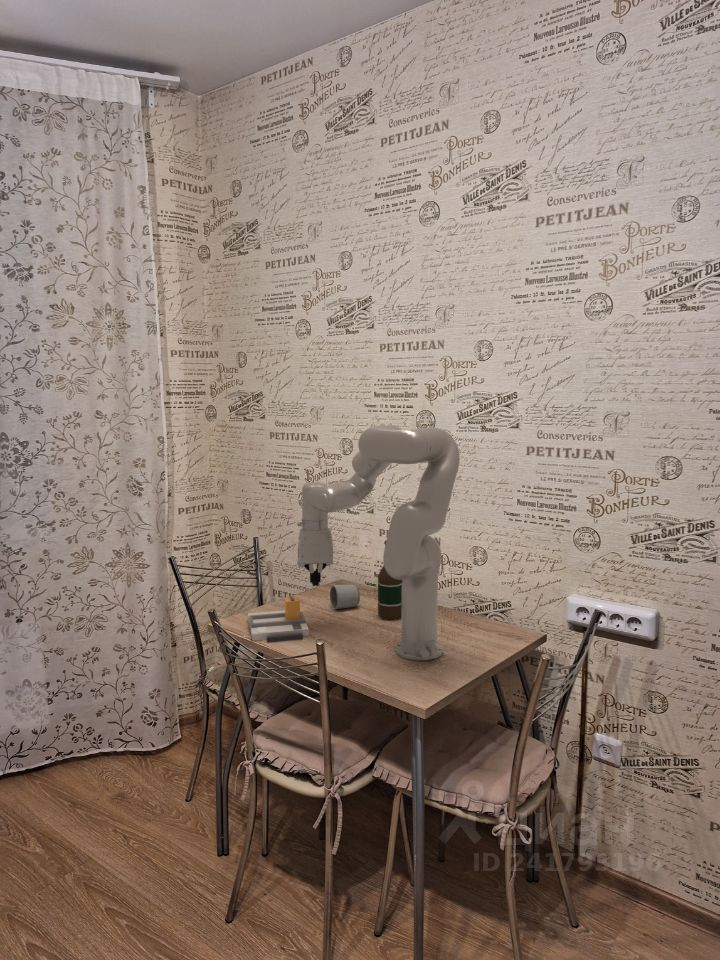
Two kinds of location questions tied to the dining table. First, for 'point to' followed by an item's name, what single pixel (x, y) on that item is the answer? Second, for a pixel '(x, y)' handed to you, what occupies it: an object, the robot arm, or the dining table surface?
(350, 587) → the ceramic mug
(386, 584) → the beer bottle
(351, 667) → the dining table surface
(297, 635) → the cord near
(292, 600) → the orange upright block
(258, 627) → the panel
